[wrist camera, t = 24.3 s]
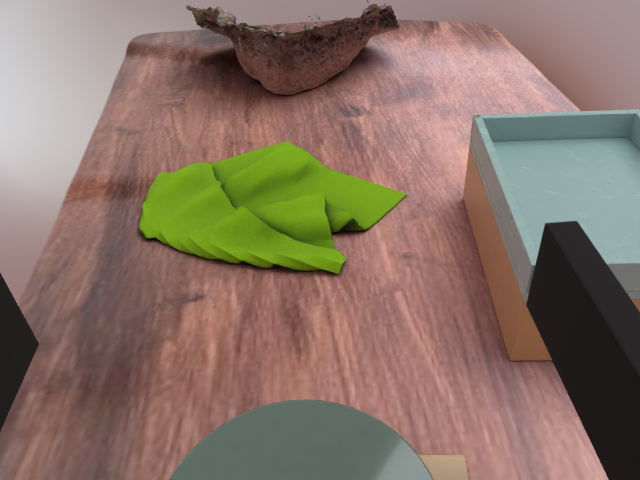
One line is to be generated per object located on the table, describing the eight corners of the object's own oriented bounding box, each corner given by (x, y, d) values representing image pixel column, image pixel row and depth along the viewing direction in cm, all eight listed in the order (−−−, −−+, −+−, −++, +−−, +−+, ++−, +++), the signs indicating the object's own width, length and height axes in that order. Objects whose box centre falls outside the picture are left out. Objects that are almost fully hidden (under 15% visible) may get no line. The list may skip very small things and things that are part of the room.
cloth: (129, 177, 53) (122, 155, 51) (347, 129, 58) (346, 107, 57) (157, 327, 38) (148, 301, 36) (449, 243, 43) (452, 217, 41)
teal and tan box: (722, 359, 33) (780, 260, 28) (509, 361, 34) (531, 264, 29) (613, 194, 47) (640, 108, 42) (462, 198, 47) (473, 114, 43)
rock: (394, 58, 80) (393, -19, 76) (411, 95, 61) (411, -6, 56) (215, 72, 82) (203, -3, 77) (175, 112, 62) (156, 15, 58)
